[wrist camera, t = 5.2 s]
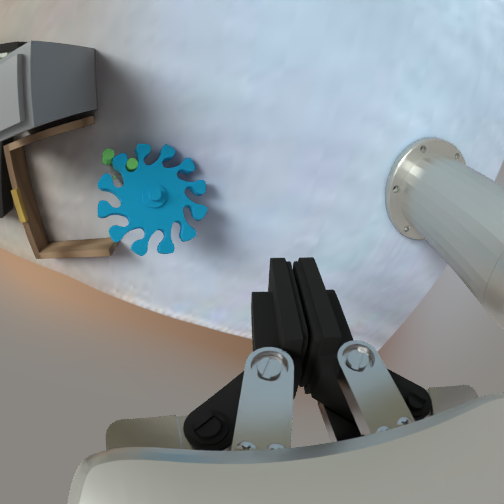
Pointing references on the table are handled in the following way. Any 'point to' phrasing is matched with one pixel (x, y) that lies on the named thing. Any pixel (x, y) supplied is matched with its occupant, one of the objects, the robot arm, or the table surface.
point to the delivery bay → (28, 206)
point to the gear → (150, 197)
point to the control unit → (45, 85)
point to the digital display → (3, 200)
